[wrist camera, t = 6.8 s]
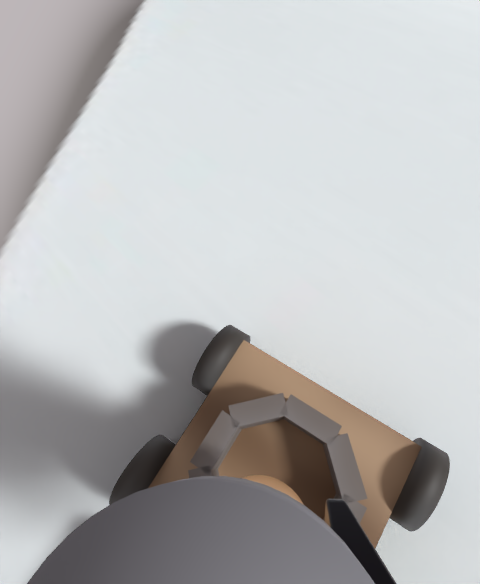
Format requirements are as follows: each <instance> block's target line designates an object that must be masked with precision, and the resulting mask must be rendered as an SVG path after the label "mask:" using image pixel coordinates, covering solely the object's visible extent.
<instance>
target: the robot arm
mask: <svg viewBox="0 0 480 584" xmlns="http://www.w3.org/2000/svg"><path fill="white" fill-rule="evenodd" d="M325 522H326V523H327V524H328V525H329V526H330V527H331V528H332V530H333V531H334V532H335V533H336V534H337V535H338V536H339V537H340V538H341V539H342V540H343V541H344V542H345V544H346V545H347V546H348V548H349V549H350V550H351V551H352V553H353V554H354V555H355V557H356V558H357V559H358V561H359V562H360V563H361V565H362V566H363V567H364V569H365V570H366V572H367V573H368V574H369V576H370V577H371V579H372V580H373V581H374V583H375V584H396V582H395V581H394V579H393V577H392V576H391V574H390V572H389V571H388V569H387V568H386V566H385V564H384V563H383V561H382V559H381V558H380V556H379V555H378V553H377V551H376V550H375V548H374V547H373V545H372V543H371V542H370V540H369V538H368V537H367V535H366V534H365V532H364V530H363V529H362V527H361V525H360V524H359V522H358V521H357V519H356V517H355V516H354V514H353V512H352V511H351V509H350V508H349V506H348V504H347V503H346V502H345V501H344V500H343V499H330V498H329V499H327V500H326V505H325Z"/></svg>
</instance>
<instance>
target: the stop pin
mask: <svg viewBox="0 0 480 584" xmlns="http://www.w3.org/2000/svg"><path fill="white" fill-rule="evenodd" d="M27 584H375V583H374V581H373V580H372V579H371V577H370V576H369V574H368V573H367V572H366V570H365V569H364V567H363V566H362V565H361V563H360V562H359V561H358V559H357V558H356V557H355V555H354V554H353V553H352V551H351V550H350V549H349V548H348V546H347V545H346V544H345V542H344V541H343V540H342V539H341V538H340V537H339V536H338V535H337V534H336V533H335V532H334V531H333V530H332V528H331V527H330V526H329V525H328V524H327V523H326V522H325V521H323V520H322V519H321V518H320V517H318V516H317V515H316V514H315V513H314V512H312V511H311V510H310V509H309V508H307V507H306V506H305V505H304V504H303V502H302V501H301V499H300V498H299V496H298V495H297V494H296V493H295V492H294V491H293V490H292V488H290V487H289V486H288V485H287V484H285V483H284V482H282V481H280V480H278V479H276V478H273V477H270V476H265V475H252V476H247V477H244V478H235V477H228V476H201V477H194V478H188V479H182V480H178V481H173V482H169V483H165V484H161V485H157V486H154V487H151V488H148V489H144V490H141V491H138V492H135V493H133V494H131V495H129V496H127V497H125V498H123V499H120V500H118V501H116V502H114V503H112V504H111V505H109V506H108V507H106V508H104V509H103V510H101V511H100V512H98V513H96V514H95V515H93V516H92V517H90V518H89V519H88V520H87V521H85V522H84V523H83V524H82V525H81V526H79V527H78V528H77V529H76V530H74V531H73V532H72V533H71V534H70V535H68V536H67V537H66V538H65V540H64V541H63V542H62V543H61V544H60V545H59V546H58V547H57V548H56V549H55V550H54V551H53V552H52V553H51V554H50V555H49V556H48V557H47V558H46V560H45V561H44V562H43V564H42V565H41V566H40V568H39V569H38V570H37V571H36V573H35V574H34V575H33V577H32V578H31V579H30V580H29V582H28V583H27Z"/></svg>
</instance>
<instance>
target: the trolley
mask: <svg viewBox="0 0 480 584" xmlns="http://www.w3.org/2000/svg"><path fill="white" fill-rule="evenodd" d="M192 385H193V386H194V387H195V388H197V389H198V390H200V391H201V392H203V393H204V394H206V395H207V398H206V399H205V401H204V402H203V404H202V405H201V407H200V408H199V410H198V412H197V413H196V415H195V416H194V418H193V419H192V421H191V422H190V424H189V425H188V427H187V429H186V430H185V432H184V433H183V435H182V436H181V438H180V439H179V441H178V442H177V444H176V445H175V444H174V443H172V442H171V441H170V440H168V439H167V438H166V437H164V436H163V435H158V436H156V437H154V438H153V439H151V440H150V441H149V442H148V443H147V444H146V445H145V446H144V447H143V448H142V449H141V450H140V451H139V452H138V453H137V454H136V456H135V457H134V458H133V459H132V460H131V462H130V463H129V464H128V466H127V467H126V469H125V470H124V472H123V473H122V475H121V476H120V478H119V480H118V481H117V483H116V485H115V487H114V489H113V491H112V494H111V496H110V501H109V504H110V505H111V504H112V503H114V502H116V501H118V500H120V499H123V498H125V497H127V496H129V495H131V494H133V493H135V492H138V491H141V490H144V489H148V488H151V487H154V486H157V485H161V484H165V483H169V482H173V481H178V480H182V479H188V478H194V477H201V476H228V477H235V478H244V477H247V476H252V475H265V476H270V477H273V478H276V479H278V480H280V481H282V482H284V483H285V484H287V485H288V486H289V487H290V488H292V490H293V491H294V492H295V493H296V494H297V495H298V496H299V498H300V499H301V501H302V502H303V504H304V505H305V506H306V507H307V508H309V509H310V510H311V511H312V512H314V513H315V514H316V515H317V516H318V517H320V518H321V519H322V520H323V521H325V505H326V500H327V499H329V498H330V499H343V500H344V501H345V502H346V503H347V504H348V506H349V508H350V509H351V511H352V512H353V514H354V516H355V517H356V519H357V521H358V522H359V524H360V525H361V527H362V529H363V530H364V532H365V534H366V535H367V537H368V538H369V540H370V542H371V543H372V545H373V547H374V548H376V546H377V543H378V541H379V539H380V537H381V535H382V532H383V530H384V528H385V526H386V524H387V521H388V519H389V518H390V519H392V520H393V521H395V522H396V523H398V524H399V525H401V526H402V527H404V528H405V529H407V530H408V531H415V530H417V529H418V528H420V527H421V526H422V525H423V524H424V523H425V522H426V521H427V520H428V518H429V517H430V516H431V514H432V513H433V511H434V509H435V508H436V506H437V504H438V502H439V500H440V498H441V496H442V493H443V491H444V488H445V485H446V482H447V478H448V474H449V466H450V462H449V457H448V455H447V453H445V452H444V451H442V450H440V449H438V448H437V447H435V446H433V445H432V444H430V443H428V442H427V441H425V440H423V439H422V438H417V439H415V440H414V441H411V440H410V439H408V438H406V437H405V436H403V435H401V434H400V433H398V432H396V431H395V430H393V429H391V428H390V427H388V426H386V425H385V424H383V423H381V422H380V421H378V420H376V419H375V418H373V417H371V416H370V415H368V414H366V413H365V412H363V411H361V410H360V409H358V408H356V407H355V406H353V405H351V404H350V403H348V402H346V401H345V400H343V399H341V398H340V397H338V396H337V395H335V394H333V393H332V392H330V391H328V390H327V389H325V388H323V387H322V386H320V385H318V384H317V383H315V382H313V381H312V380H310V379H308V378H307V377H305V376H303V375H302V374H300V373H298V372H297V371H295V370H293V369H292V368H290V367H288V366H287V365H285V364H283V363H282V362H280V361H278V360H277V359H275V358H273V357H272V356H270V355H268V354H267V353H265V352H263V351H262V350H260V349H258V348H257V347H255V346H253V345H252V344H250V336H249V335H247V334H245V333H243V332H242V331H240V330H238V329H237V328H235V327H233V326H232V325H228V326H226V327H224V328H223V329H222V330H221V331H220V332H219V333H218V334H217V335H216V336H215V337H214V338H213V340H212V341H211V342H210V344H209V345H208V347H207V348H206V350H205V351H204V353H203V355H202V356H201V358H200V360H199V362H198V364H197V366H196V369H195V371H194V374H193V378H192Z"/></svg>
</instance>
